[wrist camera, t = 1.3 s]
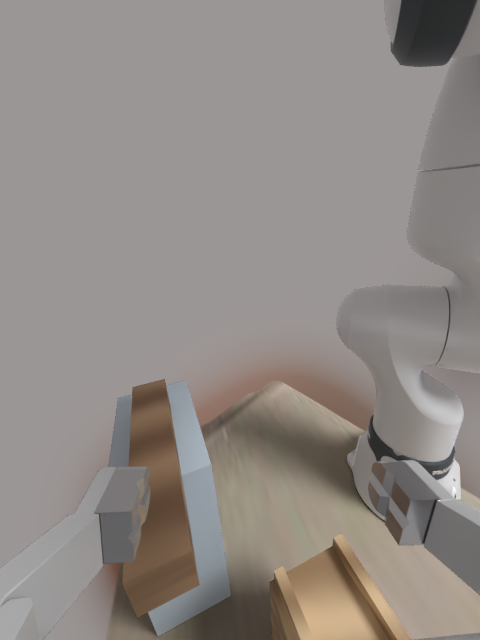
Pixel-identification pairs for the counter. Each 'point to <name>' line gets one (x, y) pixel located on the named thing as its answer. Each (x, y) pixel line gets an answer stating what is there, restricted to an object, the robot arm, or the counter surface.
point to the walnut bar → (159, 507)
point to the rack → (330, 600)
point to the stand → (198, 507)
